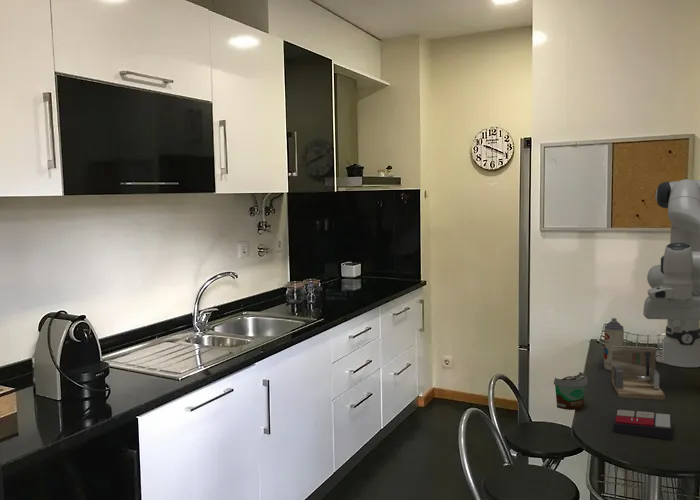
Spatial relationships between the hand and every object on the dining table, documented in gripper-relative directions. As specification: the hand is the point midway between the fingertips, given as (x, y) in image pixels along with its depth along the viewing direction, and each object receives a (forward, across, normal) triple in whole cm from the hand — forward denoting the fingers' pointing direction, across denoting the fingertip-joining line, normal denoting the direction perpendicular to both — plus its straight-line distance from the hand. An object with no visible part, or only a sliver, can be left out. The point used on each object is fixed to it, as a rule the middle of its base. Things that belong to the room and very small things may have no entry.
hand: (676, 332), depth 199 cm
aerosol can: (+21, +16, -24) cm, 36 cm away
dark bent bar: (+19, +7, -5) cm, 21 cm away
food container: (+21, +34, +20) cm, 45 cm away
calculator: (+22, +16, +34) cm, 44 cm away
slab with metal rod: (+19, +9, -1) cm, 21 cm away
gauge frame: (+21, +12, 0) cm, 24 cm away
